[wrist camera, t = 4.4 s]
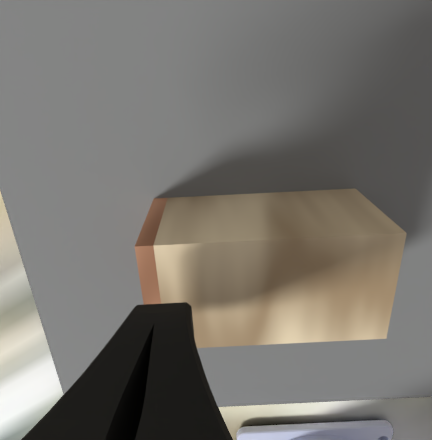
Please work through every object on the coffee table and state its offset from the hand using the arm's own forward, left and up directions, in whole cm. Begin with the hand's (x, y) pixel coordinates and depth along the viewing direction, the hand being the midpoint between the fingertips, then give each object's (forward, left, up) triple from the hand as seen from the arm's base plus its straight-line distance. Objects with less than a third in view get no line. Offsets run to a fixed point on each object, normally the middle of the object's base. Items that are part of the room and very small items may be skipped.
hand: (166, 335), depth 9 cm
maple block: (0, +1, -3) cm, 3 cm away
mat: (+1, -3, -5) cm, 6 cm away
